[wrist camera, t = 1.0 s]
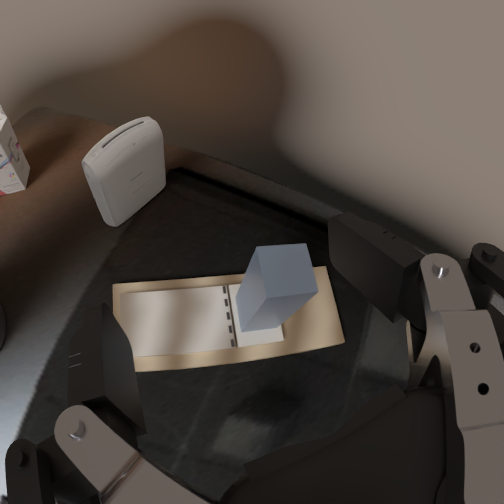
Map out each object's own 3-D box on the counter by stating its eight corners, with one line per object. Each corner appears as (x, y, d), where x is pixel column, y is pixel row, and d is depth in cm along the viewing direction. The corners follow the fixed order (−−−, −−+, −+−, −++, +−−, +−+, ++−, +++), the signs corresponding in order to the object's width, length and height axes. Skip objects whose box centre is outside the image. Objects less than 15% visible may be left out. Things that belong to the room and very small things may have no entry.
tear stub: (237, 347, 31) (263, 319, 20) (228, 287, 34) (246, 229, 23) (282, 341, 32) (329, 309, 21) (270, 282, 35) (307, 226, 24)
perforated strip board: (119, 372, 28) (114, 371, 27) (114, 287, 33) (111, 281, 31) (341, 343, 35) (348, 340, 33) (322, 269, 39) (328, 263, 37)
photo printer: (115, 234, 36) (91, 169, 25) (96, 215, 36) (71, 150, 25) (171, 186, 40) (169, 117, 30) (151, 171, 41) (145, 103, 30)
